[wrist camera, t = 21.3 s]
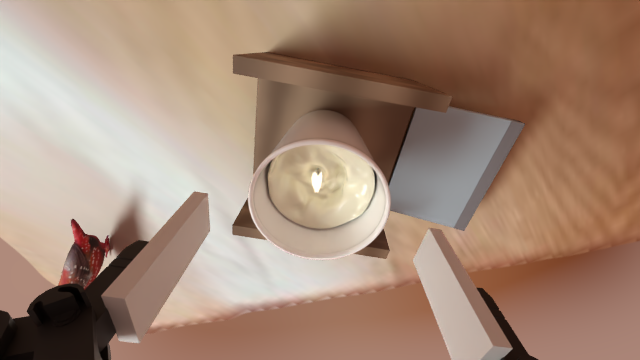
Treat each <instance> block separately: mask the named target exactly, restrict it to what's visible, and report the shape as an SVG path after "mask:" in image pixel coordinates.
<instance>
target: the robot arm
mask: <svg viewBox="0 0 640 360" xmlns="http://www.w3.org/2000/svg"><path fill="white" fill-rule="evenodd" d="M209 231H210V222H209V205H208V194H207V193H200V192H193V193H192V195H191V196H190V197H189V198H188V199H187V200H186V201H185V202H184V204H183V205H182V206H181V207H180V208H179V209H178V210H177V211H176V212H175V214H174V215H173V216H172V217H171V218H170V219H169V220H168V221H167V223H166V224H165V225H164V226H163V227H162V228H161V229H160V230H159V231H158V233H157V234H156V235H155V236H154V237H153V238H152V239H151V240H150V242H147V241H140V240H138V241H136V242H135V243H133V244H131V245H129V246H128V247H126V248H125V249H124V250H123V251H122V252H121V253H120V254H119V255H118V256H117V258H116V259H114V260H113V261H112V262H111V263H110V264H109V266H108V267H106V268H105V269H104V270H103V271H102V272H101V273H100V274H99V275H98V276H97V277H96V278H95V280H94V281H93V282H92V283H91V284H90V285H89V286H88V287H87V288H86V289H85V290H84V287H83V286H81V285H79V284H73V283H68V284H63V285H59V286H56V287H54V288H52V289H49V290H47V291H45V292H44V293H42V294H41V295H39V296H38V297H37V298H36V299H35V300H34V301H33V302H32V303H31V304H30V306H29V308H28V310H27V312H28V314H29V316H28V317H21V318H15V319H12V318H11V317H10V315H9V313H8V312H5V311H1V310H0V360H111V353H110V346H109V341H110V340H111V339H112V337H113V336H114V334H115V333H116V334H117V336H118V339H119V341H125V342H133V343H140V342H141V340H142V339H143V337H144V335H145V334H146V332H147V331H148V329H149V327H150V326H151V324H152V323H153V321H154V319H155V318H156V316H157V315H158V313H159V311H160V310H161V308H162V307H163V305H164V303H165V302H166V300H167V299H168V297H169V295H170V294H171V292H172V291H173V289H174V287H175V286H176V284H177V283H178V281H179V279H180V278H181V276H182V275H183V273H184V271H185V270H186V268H187V267H188V265H189V263H190V262H191V260H192V259H193V257H194V255H195V254H196V252H197V251H198V249H199V247H200V246H201V244H202V243H203V241H204V239H205V238H206V236H207V235H208V233H209ZM413 262H414V264H415V267H416V269H417V272H418V274H419V277H420V280H421V282H422V285H423V287H424V290H425V292H426V295H427V298H428V300H429V302H430V305H431V308H432V310H433V313H434V315H435V318H436V321H437V323H438V326H439V328H440V331H441V333H442V336H443V338H444V341H445V344H446V346H447V348H448V351H449V354H450V356H451V359H452V360H538V359H536V358H534V357H532V356H529V354H528V353H527V352H526V350H525V348H524V347H523V345H522V344H521V342H520V341H519V339H518V338H517V336H516V335H515V333H514V331H513V330H512V328H511V327H510V325H509V323H508V322H507V320H505V317H504V316H503V314H502V313H501V311H499V308H498V306H497V305H496V303H495V302H494V300H493V299H492V297H491V296H490V295H488V293H486V292H485V290H484V289H483V288H476V287H475V285H474V283H473V282H472V280H471V278H470V277H469V275H468V273H467V272H466V270H465V268H464V267H463V265H462V264H461V262H460V260H459V259H458V257H457V255H456V254H455V252H454V250H453V249H452V247H451V245H450V244H449V242H448V240H447V239H446V237H445V235H444V234H443V232H442V230H440V229H433V228H429V229H428V231H427V233H426V235H425V237H424V239H423V241H422V243H421V245H420V247H419V249H418V251H417V253H416V255H415V257H414V259H413Z"/></svg>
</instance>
